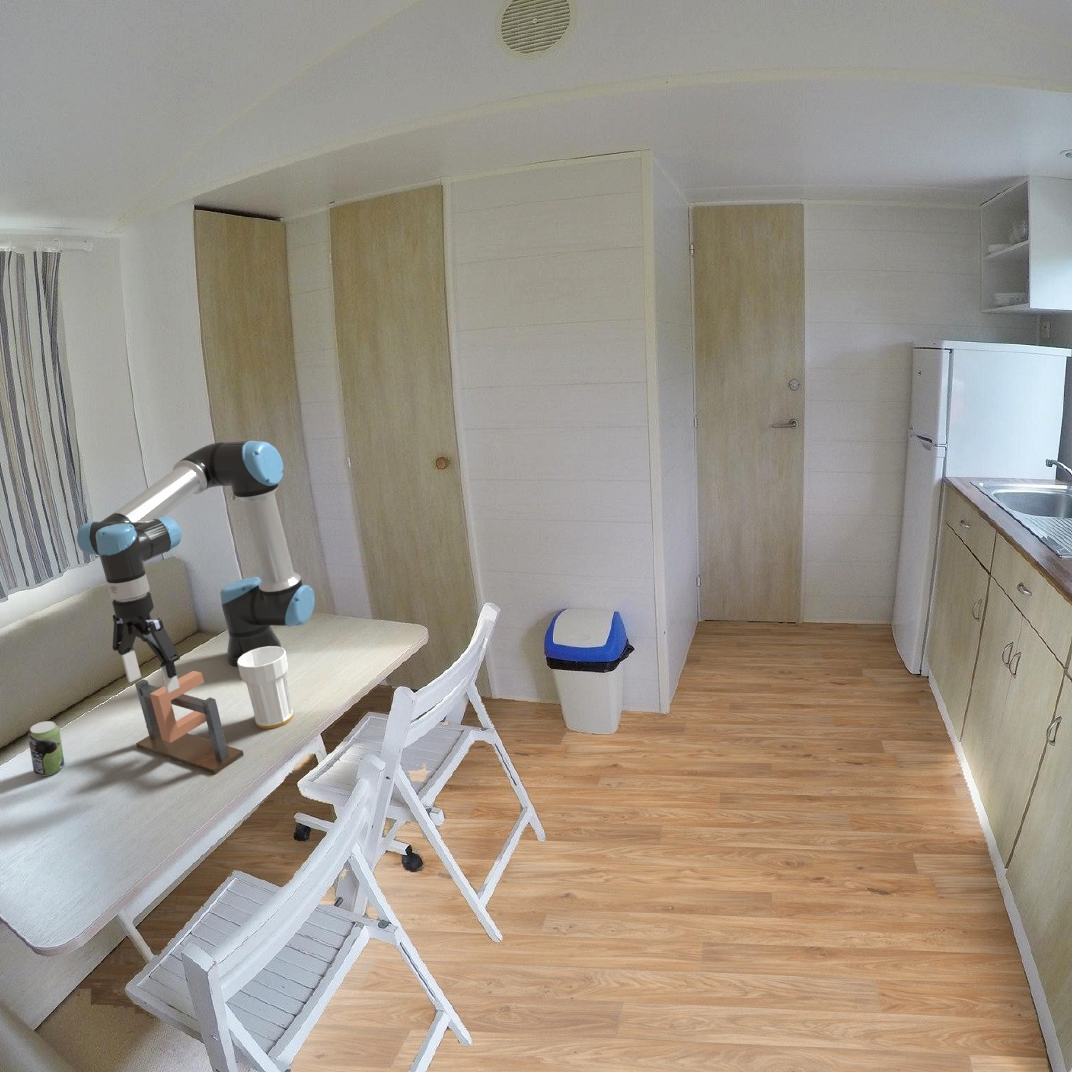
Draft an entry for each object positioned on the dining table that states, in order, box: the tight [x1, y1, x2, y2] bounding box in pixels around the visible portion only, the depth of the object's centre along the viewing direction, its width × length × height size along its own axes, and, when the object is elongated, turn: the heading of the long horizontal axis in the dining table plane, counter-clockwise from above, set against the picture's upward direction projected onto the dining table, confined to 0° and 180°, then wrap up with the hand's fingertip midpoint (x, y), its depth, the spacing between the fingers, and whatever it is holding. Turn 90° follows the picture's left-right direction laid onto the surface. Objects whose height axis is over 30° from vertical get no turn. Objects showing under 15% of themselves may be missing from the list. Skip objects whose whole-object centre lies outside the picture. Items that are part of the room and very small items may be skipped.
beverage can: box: [27, 720, 65, 777], centre depth 176 cm, size 6×7×12 cm
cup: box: [237, 646, 294, 730], centre depth 189 cm, size 11×11×17 cm
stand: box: [134, 678, 244, 775], centre depth 178 cm, size 28×8×16 cm, turn 61°
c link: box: [150, 670, 207, 743], centre depth 178 cm, size 3×12×12 cm, turn 151°
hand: (153, 684), depth 171 cm, fingers open, 13 cm apart
